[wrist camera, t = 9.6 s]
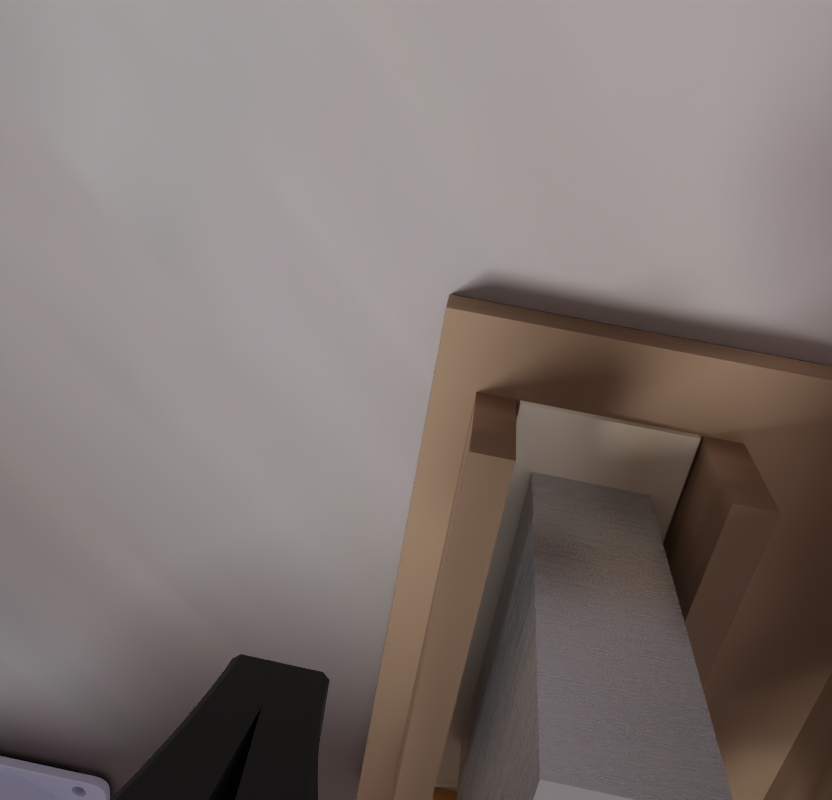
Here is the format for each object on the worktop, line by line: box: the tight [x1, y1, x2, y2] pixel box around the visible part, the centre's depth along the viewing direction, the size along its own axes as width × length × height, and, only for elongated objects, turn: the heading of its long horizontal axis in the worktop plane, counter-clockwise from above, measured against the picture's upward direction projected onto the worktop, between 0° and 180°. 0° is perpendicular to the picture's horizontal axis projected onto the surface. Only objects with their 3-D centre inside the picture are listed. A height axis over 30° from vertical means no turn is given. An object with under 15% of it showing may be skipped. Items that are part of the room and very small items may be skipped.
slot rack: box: [356, 294, 832, 800], centre depth 21 cm, size 20×18×4 cm
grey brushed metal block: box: [456, 472, 733, 800], centre depth 18 cm, size 3×10×9 cm, turn 171°
